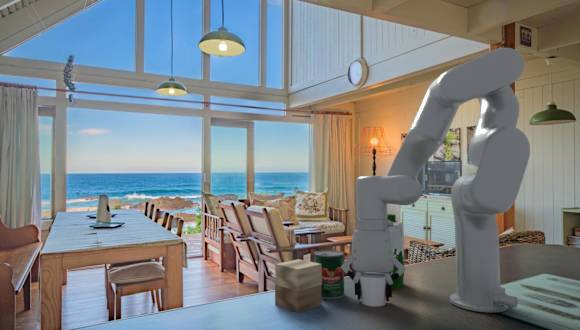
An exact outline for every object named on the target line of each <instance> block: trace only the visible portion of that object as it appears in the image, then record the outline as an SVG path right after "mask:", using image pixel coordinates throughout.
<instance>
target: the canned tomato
mask: <svg viewBox="0 0 580 330" xmlns="http://www.w3.org/2000/svg"><path fill="white" fill-rule="evenodd" d="M313 254H314V255H313V257H314V259H313V260H314V261H313V262H314V263H319V264H322V285H321V296H322V299H325V300H337V299H342V298H344V297H345V272H344V270H343V269H342V268H341V265H342V264H343V263H344V262H345V260H344V259H345V258H344V255H345V253H344V251H339V250H332V249H331V250H329V249H328V250H325V249H324V250H316V251H314V252H313Z"/></svg>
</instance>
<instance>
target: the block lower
mask: <svg viewBox="0 0 580 330" xmlns="http://www.w3.org/2000/svg"><path fill="white" fill-rule="evenodd" d="M322 299H323V298H322V296H321V285H319V286H316V287H312V288H309V289H305V290H301V291H295V290H292V289H288V288H285V287H282V286H278V285H275V284H274V305H275V306H278V307H281V308H283V309H286V310H289V311H292V312H294V313H297V314H299V313H301V312H304V311H307V310H311V309H314V308H316V307H319V306H322V305H323V304H322Z"/></svg>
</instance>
